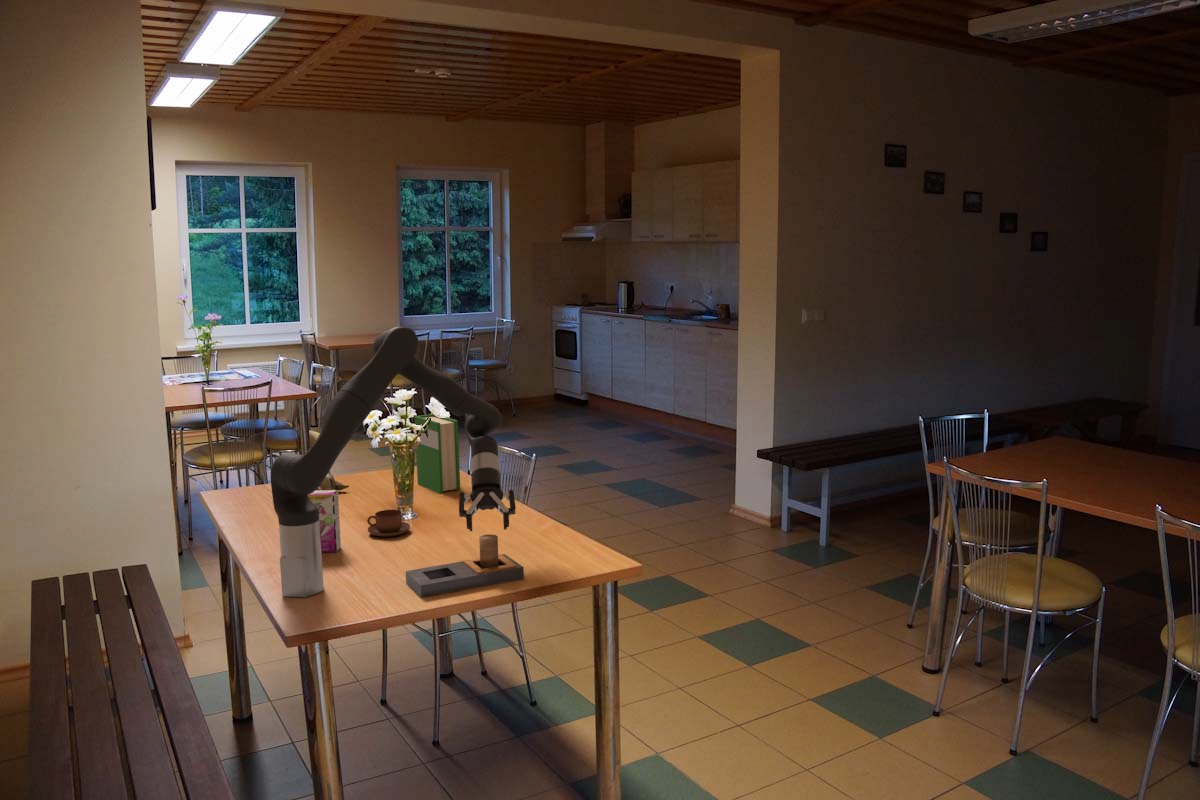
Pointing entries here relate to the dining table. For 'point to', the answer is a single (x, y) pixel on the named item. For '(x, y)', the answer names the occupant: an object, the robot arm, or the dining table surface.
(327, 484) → the ceramic sculpture
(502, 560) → the grey peg board
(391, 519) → the cup and saucer
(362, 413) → the robot arm
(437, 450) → the hardback book
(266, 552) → the dining table surface
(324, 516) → the candy bar box
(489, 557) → the walnut peg
